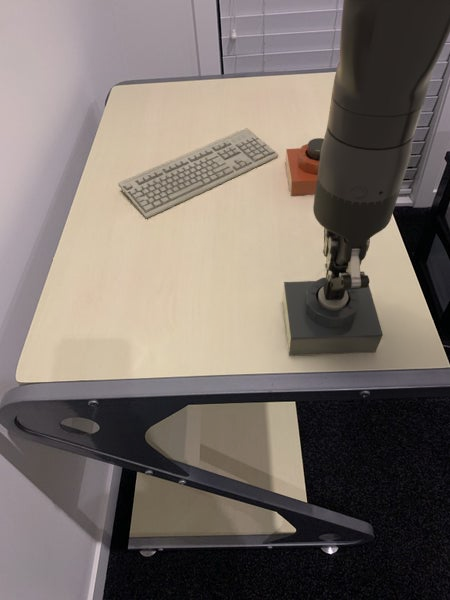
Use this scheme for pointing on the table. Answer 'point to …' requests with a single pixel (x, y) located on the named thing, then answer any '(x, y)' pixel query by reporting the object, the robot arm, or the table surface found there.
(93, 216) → the table surface
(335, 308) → the grey cylindrical knob
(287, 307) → the push button box
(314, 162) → the button base
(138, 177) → the keyboard
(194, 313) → the table surface
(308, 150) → the black button cap
